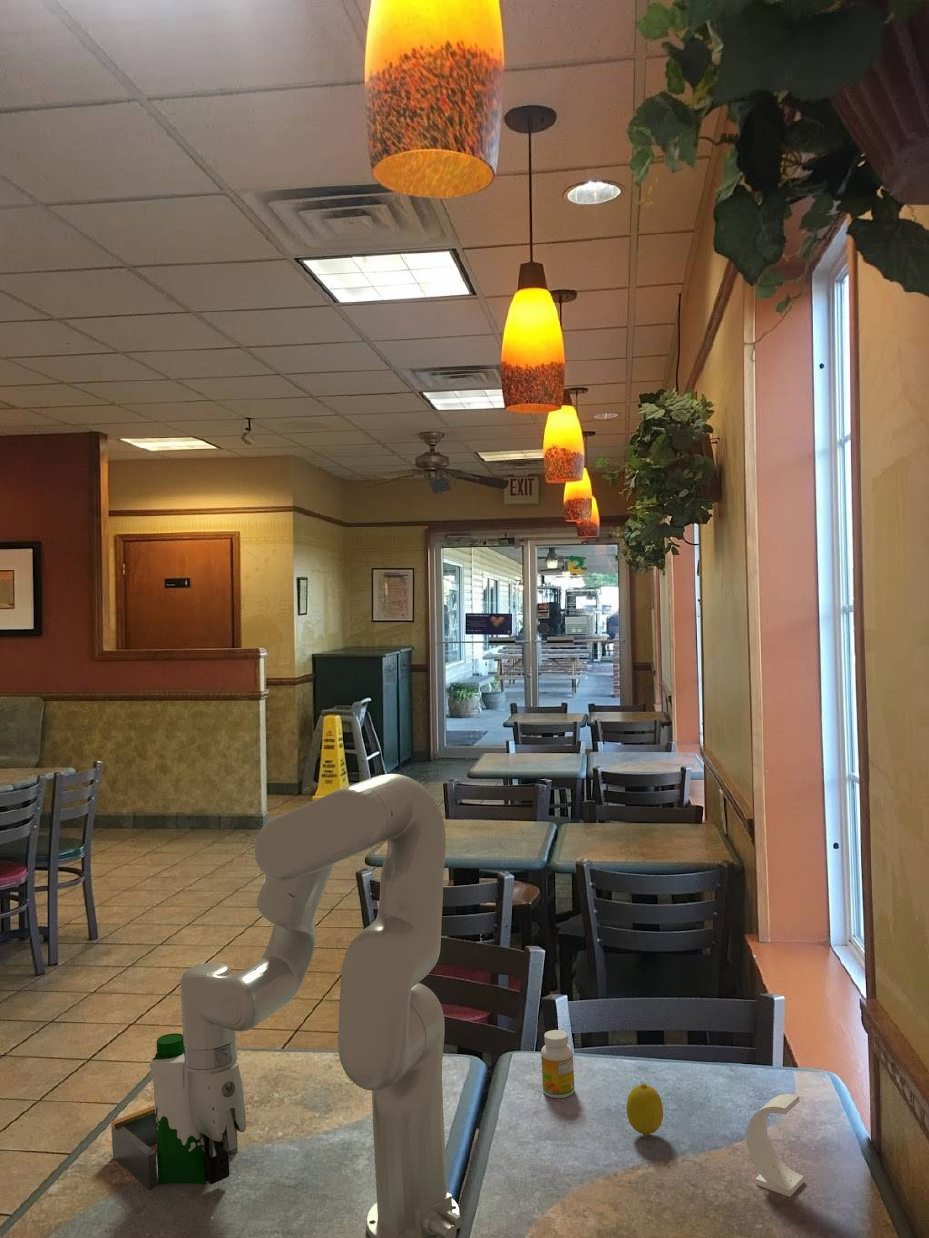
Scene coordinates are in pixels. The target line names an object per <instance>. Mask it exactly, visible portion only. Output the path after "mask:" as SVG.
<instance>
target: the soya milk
mask: <svg viewBox="0 0 929 1238" xmlns="http://www.w3.org/2000/svg"><path fill="white" fill-rule="evenodd" d="M149 1069H150V1074H151V1078H152V1084H153V1097H154V1102H153V1103H154V1105H155V1123H156V1143H157V1144H156V1164H157V1185H197V1184H198V1185H205V1184H206V1183H207V1181H205V1179H204V1161H203V1154H204V1153H206V1152H203V1151H202V1149H201V1141H200V1132H199V1130H197V1129H196V1128H195V1127H193V1126H192V1121H191V1115H190V1106H189V1091H188V1071H187V1070H186V1069H185V1063H184V1043H183V1033H182V1034H181V1033H175V1032H174V1033H167V1034H164V1035H162V1036H160V1037H158V1038H157V1039H156V1053H155V1054H154V1057H153V1058H152V1060H151V1061H150V1062H149Z"/></svg>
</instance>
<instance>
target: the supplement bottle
mask: <svg viewBox="0 0 929 1238" xmlns="http://www.w3.org/2000/svg"><path fill="white" fill-rule="evenodd" d="M543 1036H544V1037H543V1038H544V1044H545V1045H543V1047H541V1052H540V1053H541V1054H540V1055H541V1056H540V1057H541V1077H542V1090H543V1094H544V1095H545V1096H547V1097H549V1098H552V1099H565V1098H568V1097H570V1096H571V1095H573V1094H574V1093H575V1074H574V1073H575V1072H574V1071H575V1069H574V1053H573V1049H572V1047H571V1046H570V1045H569V1044H568V1043H569V1035H568V1033H567V1032H566V1031H564V1030H560V1029H553V1030H548V1031H546V1032H545V1033H544V1035H543Z"/></svg>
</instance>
